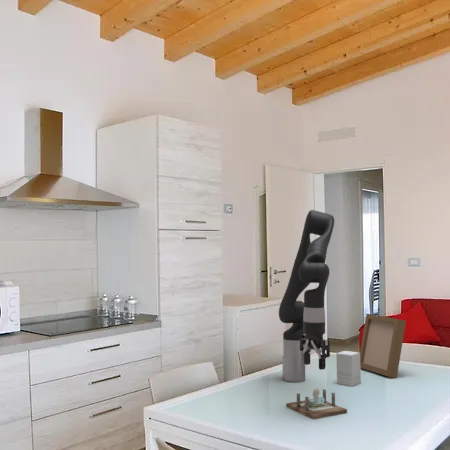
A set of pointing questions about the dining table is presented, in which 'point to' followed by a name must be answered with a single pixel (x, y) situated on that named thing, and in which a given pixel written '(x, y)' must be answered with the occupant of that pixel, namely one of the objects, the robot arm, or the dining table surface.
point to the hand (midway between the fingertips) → (314, 366)
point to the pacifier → (316, 399)
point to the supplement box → (348, 368)
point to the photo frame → (382, 344)
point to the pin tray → (316, 412)
